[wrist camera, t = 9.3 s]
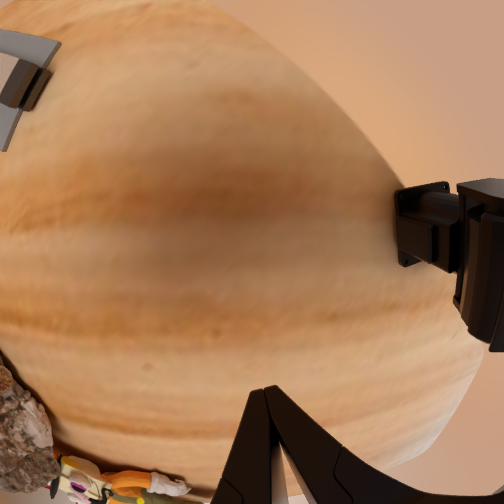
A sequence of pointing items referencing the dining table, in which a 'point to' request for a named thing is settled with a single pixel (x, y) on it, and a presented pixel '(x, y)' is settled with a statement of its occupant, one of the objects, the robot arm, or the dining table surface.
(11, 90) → the layered block
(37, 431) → the rock
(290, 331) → the dining table surface
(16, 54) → the mat
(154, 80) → the dining table surface
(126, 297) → the dining table surface
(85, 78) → the dining table surface
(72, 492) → the toy
